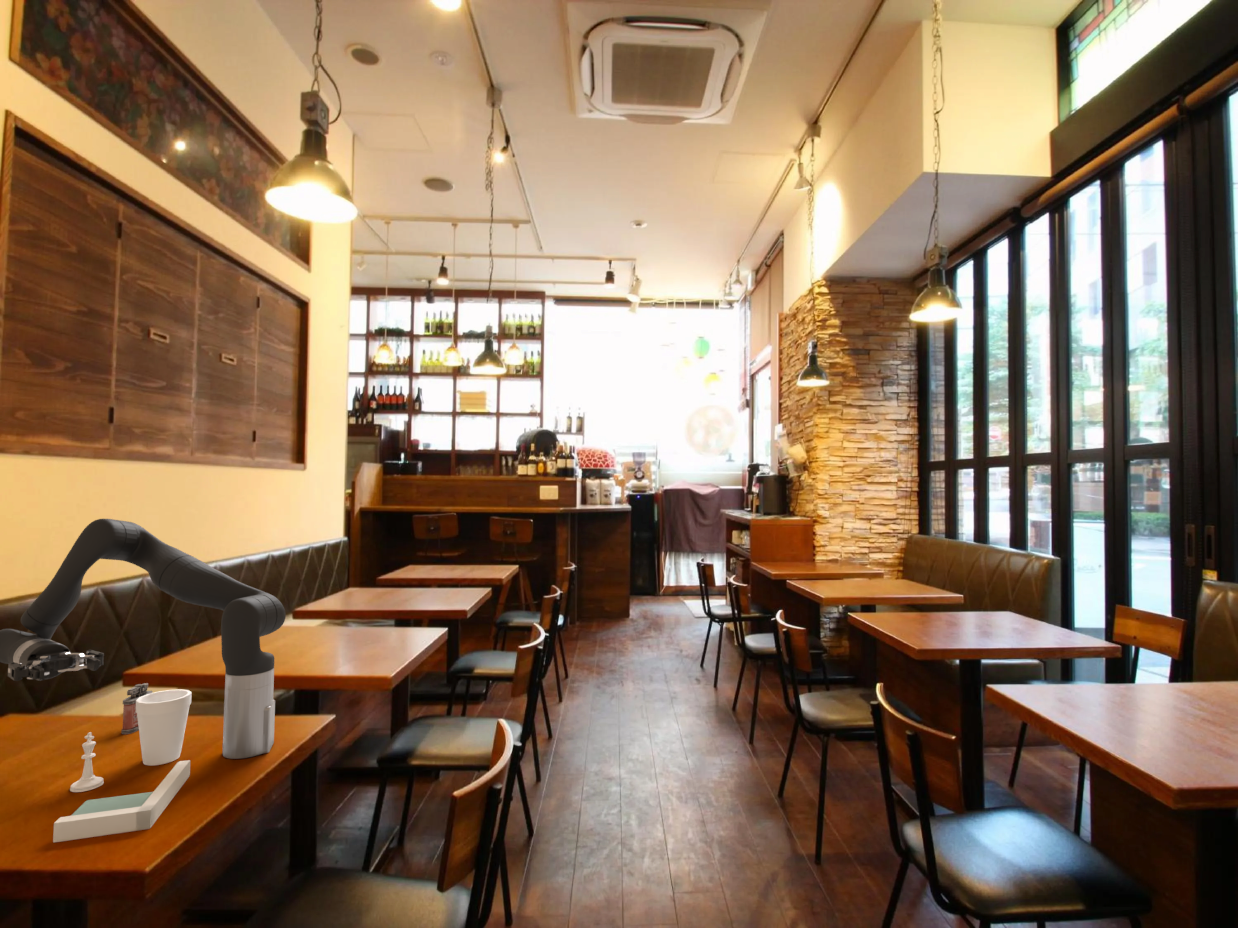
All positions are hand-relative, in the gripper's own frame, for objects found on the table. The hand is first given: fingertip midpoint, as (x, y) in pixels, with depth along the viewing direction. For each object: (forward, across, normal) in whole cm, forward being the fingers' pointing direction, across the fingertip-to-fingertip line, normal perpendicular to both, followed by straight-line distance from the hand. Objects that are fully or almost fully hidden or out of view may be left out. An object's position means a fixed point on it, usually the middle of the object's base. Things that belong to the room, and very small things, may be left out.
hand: (70, 670), depth 126 cm
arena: (+26, +1, +20) cm, 33 cm away
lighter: (-16, +18, +20) cm, 32 cm away
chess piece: (+11, 0, +20) cm, 23 cm away
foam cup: (+9, +13, +20) cm, 26 cm away
